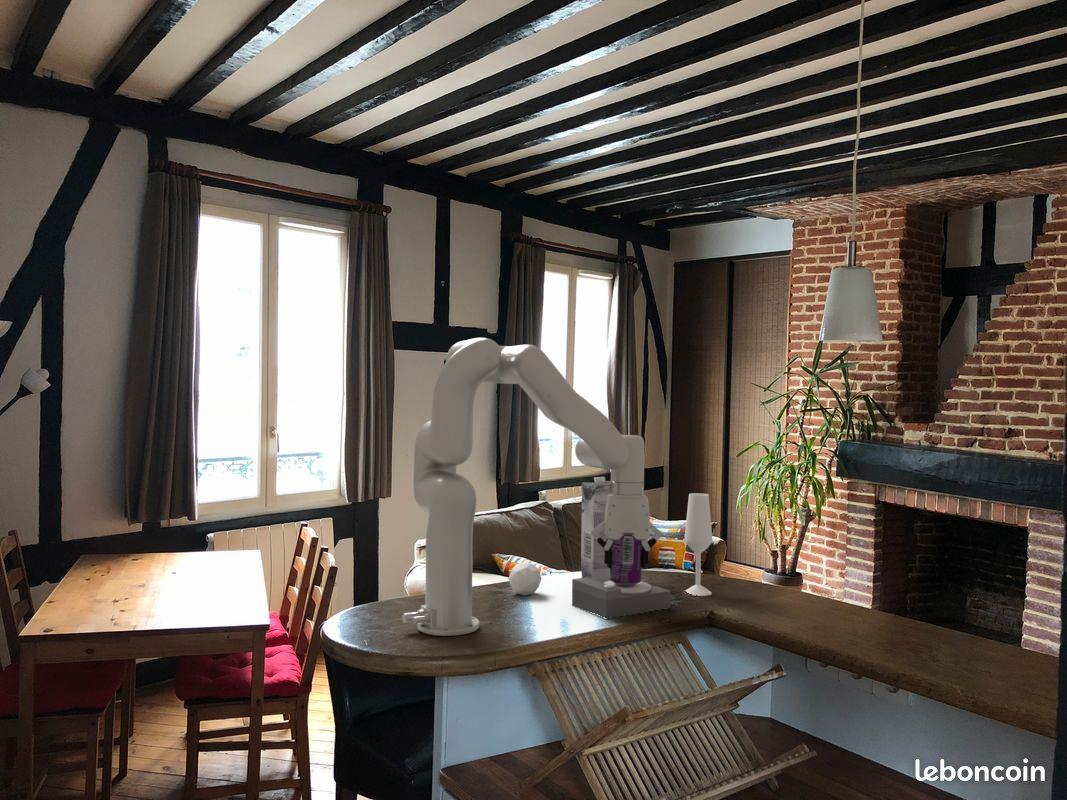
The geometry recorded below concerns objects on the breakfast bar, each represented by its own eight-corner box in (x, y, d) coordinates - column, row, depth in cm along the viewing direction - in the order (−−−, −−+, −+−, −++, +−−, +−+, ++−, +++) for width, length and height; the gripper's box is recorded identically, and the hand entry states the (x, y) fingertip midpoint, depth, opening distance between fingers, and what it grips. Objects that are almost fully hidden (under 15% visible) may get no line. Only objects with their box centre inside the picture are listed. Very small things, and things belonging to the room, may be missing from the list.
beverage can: (646, 583, 182) (648, 531, 182) (628, 588, 176) (630, 534, 176) (621, 578, 186) (622, 526, 186) (603, 583, 181) (604, 530, 181)
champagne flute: (679, 592, 195) (680, 494, 195) (691, 587, 200) (692, 492, 200) (704, 597, 191) (705, 496, 190) (716, 591, 196) (717, 494, 196)
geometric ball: (528, 603, 194) (545, 575, 197) (531, 599, 186) (548, 570, 189) (502, 587, 195) (519, 558, 198) (503, 582, 187) (520, 553, 190)
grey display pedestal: (605, 619, 170) (606, 588, 170) (572, 605, 182) (572, 576, 182) (670, 608, 180) (670, 579, 180) (634, 596, 191) (634, 568, 191)
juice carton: (630, 583, 204) (631, 478, 204) (597, 588, 199) (598, 479, 199) (609, 576, 212) (610, 475, 212) (576, 581, 206) (577, 476, 206)
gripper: (590, 490, 178) (589, 570, 177) (668, 491, 178) (667, 571, 178) (587, 487, 185) (586, 563, 185) (662, 487, 185) (661, 564, 185)
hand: (626, 566), depth 181 cm, fingers open, 7 cm apart
